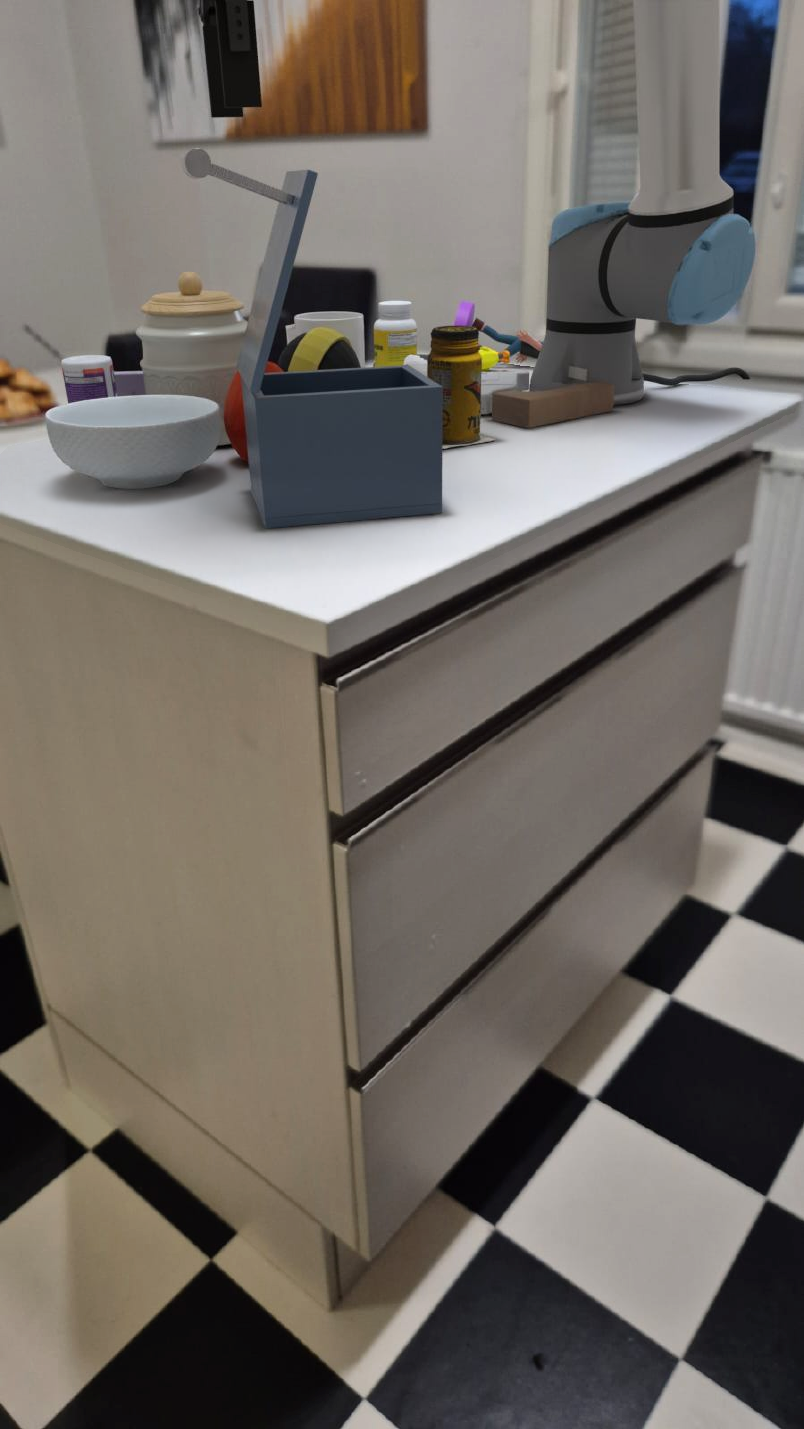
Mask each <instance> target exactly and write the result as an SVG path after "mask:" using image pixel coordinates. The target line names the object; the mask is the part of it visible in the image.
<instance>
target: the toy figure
mask: <svg viewBox="0 0 804 1429" xmlns="http://www.w3.org/2000/svg"><path fill="white" fill-rule="evenodd" d="M479 353H480V355H481V357H482V370H481V372H491V371H490V370H491V369H492V368H494V367H495V366H496V365H497V364H499V363H498V362H499V361H503V362H502V363H503V364H504V365H506V364H507V365H508V364H511V360H510V357H509V356H510V353H509V351H508V350H505V349H503V350H502V351H499V352H497V351H496V350H494V349H492V348H490V347H488V346H483V347H480V350H479ZM502 354H503V356H504V357H503V358H502V359H499V358H498V355H502ZM508 357H509V358H508Z"/></svg>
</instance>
